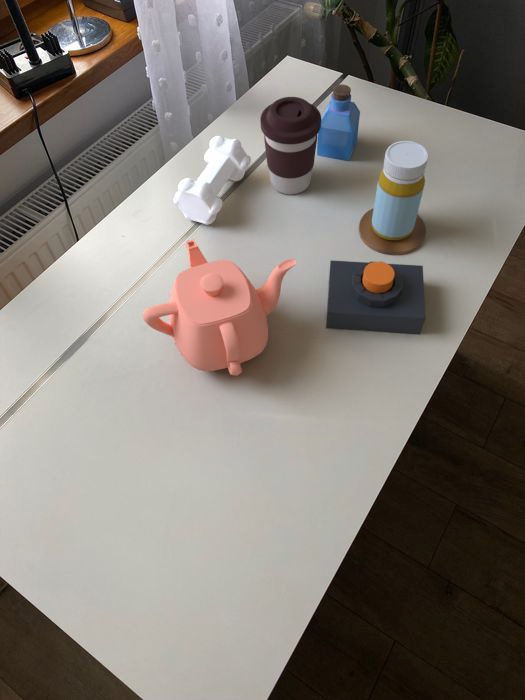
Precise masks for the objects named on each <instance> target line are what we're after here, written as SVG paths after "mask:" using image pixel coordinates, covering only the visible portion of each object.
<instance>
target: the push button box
mask: <svg viewBox="0 0 525 700" xmlns="http://www.w3.org/2000/svg"><path fill="white" fill-rule="evenodd" d="M372 262H373V261H369V262H367V261H366V262H364V261H351V260H349V261H348V260H331V259H330V263H329V272H328V273H329V274H328V287H327V303H326V304H327V305H326V321H325V329H330V330H345V331H361V332H374V333H375V332H376V333H388V334H390V333H391V334H405V335H417V336H420V335H421V334H422V330H423V327H424V325H425V321H426V304H425V303H426V301H425V284H424V283H425V282H424V266H423V265H420V264H419V265H418V264H417V265H416V264H403V263H400V264H399V263H388V264H389V265H390V266H391V267H392V268H393V270H394V273H395V276H394V280H393V285H392V287H391V289H390V290H388V291H387V292H385V293H380V294H377V293H372V292H370V291H368V290H367V289H366V288H365V287H364V285H363V282H362V280H363V274H364V269H365V267H366V266H367V265H368V264H370V263H372Z"/></svg>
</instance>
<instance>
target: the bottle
mask: <svg viewBox="0 0 525 700" xmlns="http://www.w3.org/2000/svg"><path fill="white" fill-rule="evenodd" d="M428 160H429V153H428V150H427V149H426V147H424V146H423V145H421V144H420V143H418V142H415V141H412V140H400V141H396V142H393V143H391V144H390V145H389V146H388V147H387V149H386V150H385V155H384V161H383V168H382V170H381V171H380V173H379V175H378V180H377V186H376V193H375V198H374V203H373V208H374V210H373V216H372V228H373V230H374V232H375V233H376V234H378V235H379V236H380V237H382V238H384V239H386V240H391V241H397V240H401V239H404V238H406V237H408V236H409V235H410V234H411V233H412V232H413V229H414V225H415V221H416V217H417V215H418V212H419V208H420V205H421V200H422V197H423V193H424V189H425V183H426V177H425V173H426V169H427V166H428V165H427V164H428Z"/></svg>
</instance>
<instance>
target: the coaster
mask: <svg viewBox="0 0 525 700" xmlns="http://www.w3.org/2000/svg"><path fill="white" fill-rule="evenodd" d="M373 210H374V207H373V208H371V209H369V210H368V211H366V212H365V213H364V214H363V215H362V217H361V218H360V220H359V224H358V234H359V237H360V239H361V241H362V242H363V243H364V245H365V246H367V247H368V248H369V249H371V250H373V251H374V252H375V253H379V254H382V255H386V256H403V255H406V254H410V253H412V252H414V251H416V250H417V249H418V248H419V247H420V246H421V245H422V244H423V242H424V240H425V238H426V237H425V235H426V233H427V232H426V225H425V222H424V220H423V219H422V218H421V216H420V215H419V214H417V217H416V221H415V225H414V229H413V232H412V233H411V234H410V235H409V236H408V237H406V238H404V239H401V240H397V241H391V240H386V239H384V238H382V237H380V236H379V235H378V234H376V233H375V232H374V230H373V228H372V216H373Z"/></svg>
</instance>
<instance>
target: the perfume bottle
mask: <svg viewBox="0 0 525 700" xmlns="http://www.w3.org/2000/svg"><path fill="white" fill-rule="evenodd" d="M351 92H352V88H351V87H350V86H349V85H347V84H337V85H335V86H333V88H332V94H331V96H330V101H329V103H328V104H327V106H326V108H325V110H324V113H323V115H322V116H321V128H320V131H319V132H318V134H317V144H316V156H320V157H325V158H330V159H337V160H342V161H347V162H350V160H351V157H352V155H353V153H354V149H355V147H356V145H357V144H356V143H357V141H358V135H359V127H360V126H359V125H360V117H361V111H360V109H359V107H358V105H357V104H356V103H355V102H354V101H352V94H351Z"/></svg>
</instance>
